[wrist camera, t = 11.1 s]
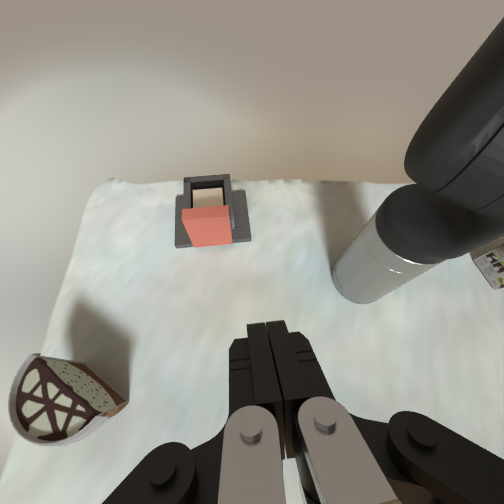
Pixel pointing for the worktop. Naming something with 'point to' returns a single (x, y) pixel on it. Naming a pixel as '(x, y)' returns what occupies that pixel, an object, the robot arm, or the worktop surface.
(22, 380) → the food container
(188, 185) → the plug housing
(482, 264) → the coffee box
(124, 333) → the worktop surface
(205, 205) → the red plug
